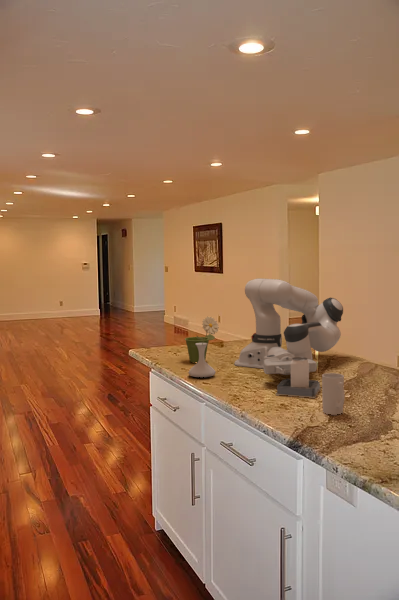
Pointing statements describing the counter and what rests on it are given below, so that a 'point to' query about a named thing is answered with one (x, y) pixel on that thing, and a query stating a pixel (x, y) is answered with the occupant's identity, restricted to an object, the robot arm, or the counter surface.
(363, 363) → the counter surface
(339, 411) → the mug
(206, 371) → the flower in vase
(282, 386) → the socket block
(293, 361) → the can
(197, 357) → the plant pot
